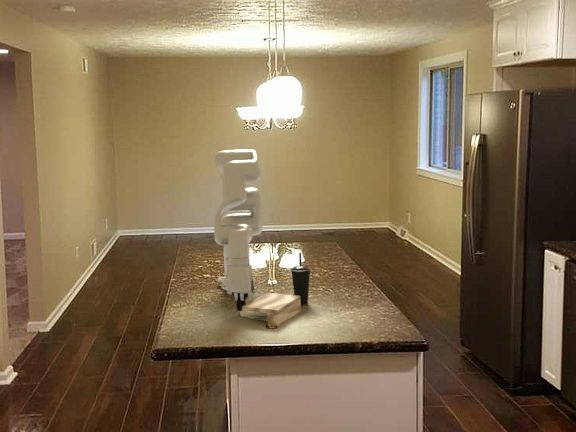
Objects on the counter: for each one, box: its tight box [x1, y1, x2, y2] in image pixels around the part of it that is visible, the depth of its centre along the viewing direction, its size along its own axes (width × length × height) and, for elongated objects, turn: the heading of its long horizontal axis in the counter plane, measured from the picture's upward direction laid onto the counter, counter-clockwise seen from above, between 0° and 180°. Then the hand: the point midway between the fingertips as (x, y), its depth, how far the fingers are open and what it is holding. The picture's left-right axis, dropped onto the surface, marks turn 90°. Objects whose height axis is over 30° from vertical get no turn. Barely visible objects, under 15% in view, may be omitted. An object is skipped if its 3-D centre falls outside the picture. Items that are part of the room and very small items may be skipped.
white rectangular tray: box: [239, 311, 268, 318], centre depth 264 cm, size 14×7×2 cm, turn 69°
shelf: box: [242, 292, 302, 328], centre depth 261 cm, size 14×20×6 cm
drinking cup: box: [290, 252, 312, 306], centre depth 277 cm, size 8×8×20 cm
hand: (241, 309), depth 266 cm, fingers closed
